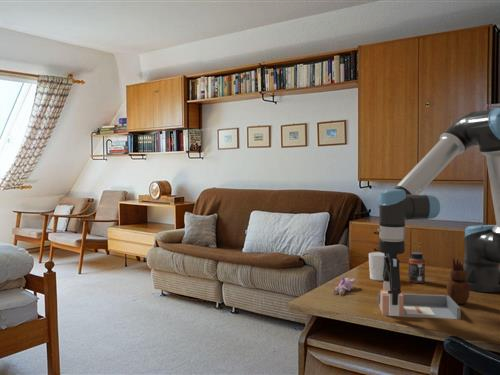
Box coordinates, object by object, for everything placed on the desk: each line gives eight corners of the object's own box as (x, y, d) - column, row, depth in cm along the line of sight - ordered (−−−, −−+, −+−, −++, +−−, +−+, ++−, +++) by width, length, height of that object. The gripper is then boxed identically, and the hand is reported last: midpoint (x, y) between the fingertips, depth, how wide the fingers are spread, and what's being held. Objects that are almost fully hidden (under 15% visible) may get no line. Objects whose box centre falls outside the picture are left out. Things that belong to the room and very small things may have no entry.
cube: (400, 309, 140) (400, 290, 140) (403, 315, 134) (403, 295, 134) (379, 308, 141) (380, 289, 141) (382, 314, 136) (382, 294, 135)
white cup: (366, 276, 184) (366, 252, 183) (386, 276, 183) (386, 252, 183) (371, 281, 176) (371, 256, 175) (391, 281, 176) (391, 256, 175)
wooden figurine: (449, 305, 145) (450, 259, 144) (444, 299, 151) (445, 255, 150) (471, 305, 144) (472, 259, 143) (465, 300, 150) (466, 256, 149)
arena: (448, 306, 144) (448, 295, 144) (460, 319, 131) (460, 308, 131) (377, 303, 148) (378, 292, 148) (382, 316, 135) (383, 305, 135)
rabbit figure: (345, 301, 155) (360, 284, 167) (344, 285, 154) (359, 269, 166) (328, 298, 159) (344, 282, 171) (327, 282, 157) (343, 267, 170)
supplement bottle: (424, 284, 170) (424, 255, 170) (408, 282, 173) (408, 253, 172) (425, 280, 176) (425, 252, 175) (409, 279, 178) (409, 251, 178)
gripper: (374, 233, 150) (373, 295, 151) (384, 246, 125) (383, 321, 126) (398, 234, 148) (396, 297, 149) (412, 247, 124) (411, 322, 125)
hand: (390, 308), depth 138 cm, fingers open, 13 cm apart
